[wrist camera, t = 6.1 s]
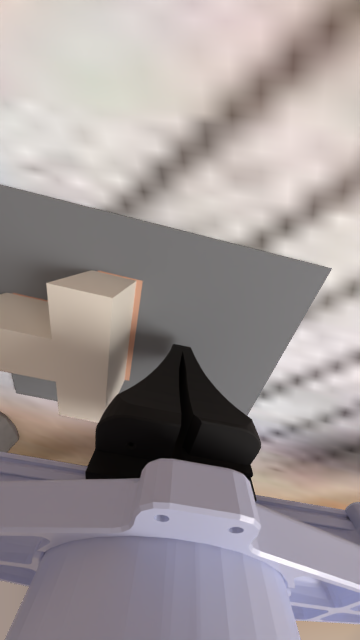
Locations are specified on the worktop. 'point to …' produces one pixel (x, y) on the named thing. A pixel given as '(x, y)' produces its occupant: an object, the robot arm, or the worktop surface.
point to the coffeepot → (7, 434)
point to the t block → (72, 339)
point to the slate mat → (163, 289)
